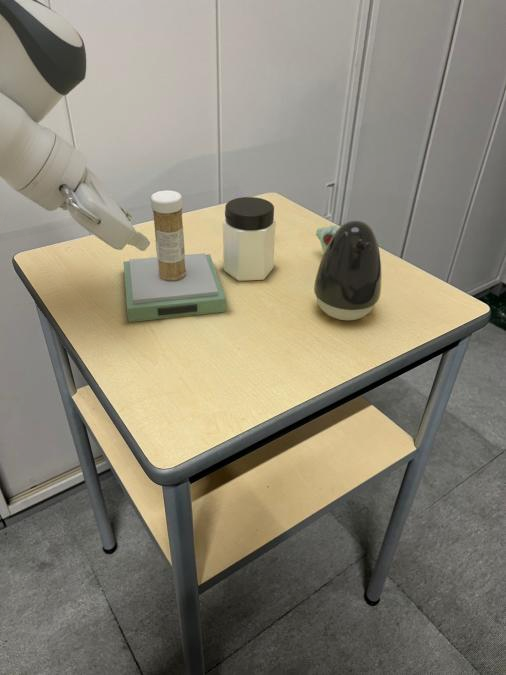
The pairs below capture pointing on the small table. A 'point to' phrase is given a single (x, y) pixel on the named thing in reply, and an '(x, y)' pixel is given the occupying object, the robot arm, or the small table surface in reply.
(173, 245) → the sprinkles bottle
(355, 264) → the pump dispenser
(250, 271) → the jar
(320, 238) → the robot head
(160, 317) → the kitchen scale
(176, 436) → the small table surface
